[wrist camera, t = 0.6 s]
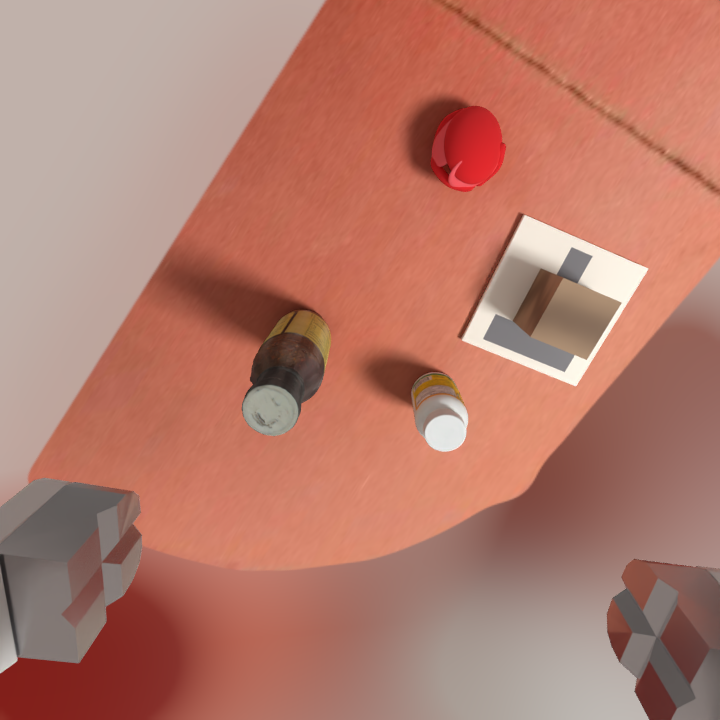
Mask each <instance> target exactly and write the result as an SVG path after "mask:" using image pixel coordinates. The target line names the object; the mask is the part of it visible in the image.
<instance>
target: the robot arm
mask: <svg viewBox="0 0 720 720" xmlns="http://www.w3.org/2000/svg"><path fill="white" fill-rule="evenodd" d="M140 513H141V511H140V500H139V495H137V494H136V493H135V492H134V491H128V490H122V489H115V488H109V487H103V486H96V485H90V484H84V483H77V482H74V483H72V482H68V481H62V480H55V479H48V478H42V479H38V480H34V481H32V482H31V483H30V484H29V485H27V486H26V487H25V488H24V489H22V490H21V491H20V492H19V493H17V494H16V495H15V496H14V497H13V498H11V499H10V500H9V501H7V502H6V503H5V504H4V505H2V506H1V507H0V673H1V672H3V671H4V670H5V669H7V668H8V667H10V666H11V665H12V664H14V663H15V662H17V657H22V658H32V659H42V660H53V661H62V662H73V663H79V662H80V661H81V659H82V658H83V656H84V655H85V653H86V652H87V650H88V648H89V647H90V646H91V644H92V642H93V641H94V640H95V638H96V636H97V635H98V633H99V632H100V630H101V629H102V627H103V626H104V624H105V622H106V609H105V607H106V606H107V605H109V604H110V603H112V602H114V601H115V600H117V599H119V598H120V597H122V596H123V595H124V593H125V592H126V590H127V588H128V587H129V585H130V584H131V582H132V580H133V578H134V575H135V573H136V570H137V567H138V565H139V562H140V556H141V549H142V535H141V533H140V532H139V531H138V530H137V528H136V527H135V526H134V525H133V522H134V521H135V520H136V518H137V517H138V516H139V514H140ZM622 580H623V582H624V584H625V587H626V589H625V590H624V591H622V592H620V593H619V594H618V595H616V596H615V597H613V598H612V601H611V604H610V606H609V609H608V612H607V632H608V636H609V639H610V643H611V646H612V648H613V650H614V652H615V654H616V656H617V658H618V660H619V662H620V663H621V664H622V665H623V666H624V667H625V668H626V669H628V670H629V671H630V672H631V673H632V674H633V675H634V676H635V677H636V678H637V680H636V686H635V693H636V695H637V697H638V699H639V701H640V703H641V705H642V706H643V708H644V710H645V712H646V714H647V716H648V718H649V720H720V569H719V568H709V567H701V566H696V567H693V566H686V565H678V564H670V563H662V562H655V561H647V560H639V559H634V560H632V561H631V562H630V563H629V564H628V565H627V566H626V568H625V570H624V572H623V575H622Z"/></svg>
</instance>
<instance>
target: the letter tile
mask: <svg viewBox="0 0 720 720" xmlns="http://www.w3.org/2000/svg"><path fill="white" fill-rule="evenodd" d="M540 269H544V270H546V271H548V272H551V273H553V274H556V275H558V276H560V277H563V278H565V279H568V280H570V281H572V282H575V283H577V284H579V285H582V286H584V287H586V288H589V289H591V290H593V291H596V292H598V293H600V294H603V295H605V296H608V297H610V298H612V299H615V300H617V301H619V302H622V303H621V305H620V307H619V308H618V310H617V312H616V313H615V315H614V316H613V318H612V320H611V321H610V323H609V325H608V326H607V328H606V330H605V331H604V333H603V334H602V336H601V338H600V339H599V341H598V343H597V344H596V346H595V347H594V349H593V351H592V352H591V354H590V356H589V357H588V359H587V360H585V359H583V358H580V357H578V356H576V355H573V354H571V353H568V352H566V351H563V350H561V349H558V348H556V347H554V346H551V345H549V344H546V343H544V342H541V341H539V340H537V339H534V338H532V337H530V336H529V335H528V334H527V333H525V332H524V331H523V330H522V329H521V328H520V327H519V326H518V325H517V324H515V323H514V322H513V319H514V317H515V316H516V314H517V312H518V310H519V308H520V306H521V304H522V303H523V301H524V299H525V297H526V295H527V293H528V291H529V289H530V288H531V286H532V284H533V282H534V280H535V278H536V276H537V274H538V273H539V271H540ZM647 270H648V268H646V267H643V266H641V265H639V264H636V263H634V262H632V261H629V260H627V259H625V258H623V257H620V256H618V255H616V254H613V253H611V252H609V251H607V250H604V249H602V248H600V247H597V246H595V245H593V244H590V243H588V242H586V241H584V240H581V239H579V238H577V237H574V236H572V235H570V234H568V233H565V232H563V231H561V230H558V229H556V228H554V227H551V226H549V225H547V224H545V223H542V222H540V221H538V220H535V219H533V218H531V217H528V216H526V215H523V216H522V218H521V220H520V222H519V224H518V226H517V228H516V230H515V232H514V234H513V236H512V238H511V240H510V242H509V244H508V246H507V248H506V250H505V252H504V254H503V256H502V258H501V260H500V262H499V264H498V266H497V268H496V270H495V272H494V274H493V276H492V278H491V280H490V282H489V284H488V286H487V288H486V290H485V292H484V294H483V296H482V298H481V300H480V302H479V304H478V306H477V308H476V310H475V312H474V314H473V316H472V318H471V320H470V322H469V324H468V326H467V328H466V330H465V332H464V334H463V336H462V338H461V340H462V341H465V342H467V343H470V344H472V345H474V346H477V347H479V348H482V349H484V350H487V351H489V352H492V353H494V354H497V355H499V356H502V357H504V358H507V359H509V360H512V361H514V362H517V363H519V364H522V365H524V366H527V367H529V368H532V369H534V370H537V371H539V372H542V373H544V374H547V375H549V376H551V377H554V378H556V379H559V380H561V381H564V382H566V383H569V384H571V385H574V386H577V384H578V382H579V381H580V379H581V377H582V376H583V374H584V373H585V371H586V369H587V368H588V366H589V364H590V363H591V361H592V360H593V358H594V356H595V355H596V353H597V351H598V350H599V348H600V347H601V345H602V343H603V342H604V340H605V339H606V337H607V335H608V334H609V332H610V330H611V329H612V327H613V326H614V324H615V322H616V321H617V319H618V317H619V316H620V314H621V313H622V311H623V309H624V308H625V306H626V304H627V303H628V301H629V300H630V298H631V296H632V295H633V293H634V292H635V290H636V288H637V287H638V285H639V283H640V282H641V280H642V279H643V277H644V275H645V274H646V272H647Z"/></svg>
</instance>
